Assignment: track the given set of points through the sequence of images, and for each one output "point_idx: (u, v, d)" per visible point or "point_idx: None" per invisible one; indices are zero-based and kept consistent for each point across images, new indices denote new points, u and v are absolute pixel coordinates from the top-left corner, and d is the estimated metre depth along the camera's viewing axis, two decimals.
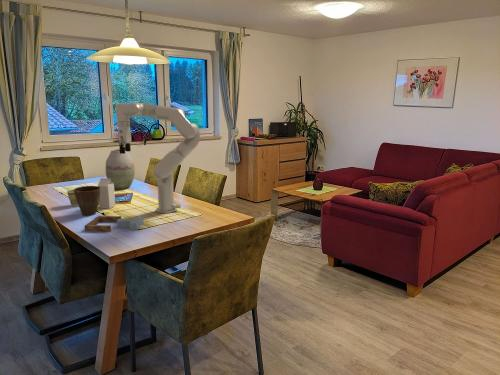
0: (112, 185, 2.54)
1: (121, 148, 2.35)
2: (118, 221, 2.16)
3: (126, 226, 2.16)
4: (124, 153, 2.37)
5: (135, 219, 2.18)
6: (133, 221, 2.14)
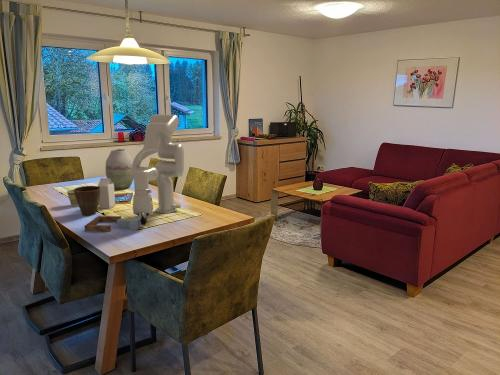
0: (112, 185, 2.54)
1: (146, 219, 2.17)
2: (118, 221, 2.16)
3: (126, 226, 2.16)
4: (145, 223, 2.19)
5: (135, 219, 2.18)
6: (133, 221, 2.14)
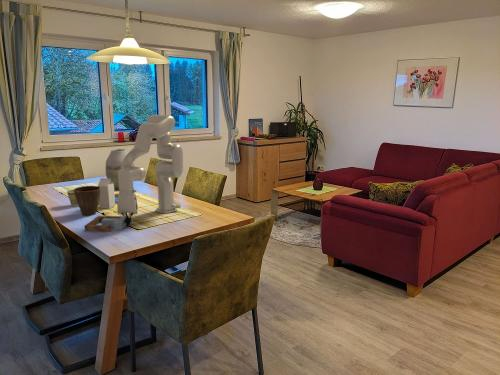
0: (112, 185, 2.54)
1: (130, 218, 2.17)
2: (103, 221, 2.16)
3: (111, 226, 2.16)
4: (130, 223, 2.19)
5: (120, 219, 2.18)
6: (118, 221, 2.15)
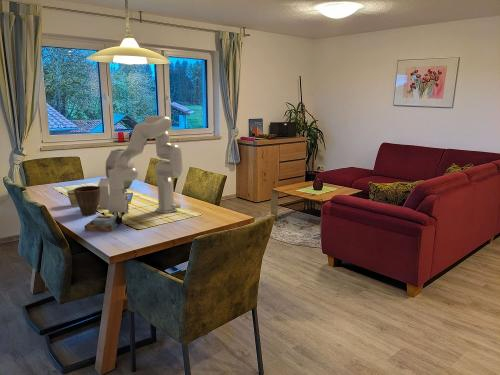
0: None
1: (121, 218, 2.17)
2: (94, 221, 2.16)
3: None
4: None
5: (111, 219, 2.18)
6: (108, 221, 2.15)
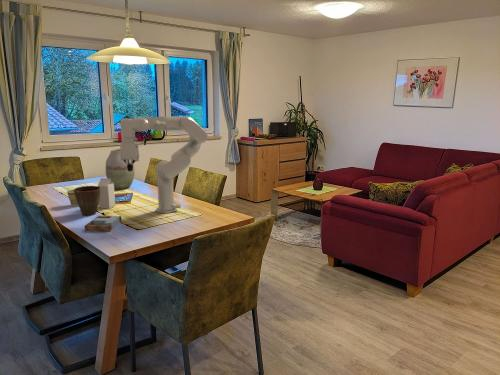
0: (112, 185, 2.54)
1: (132, 165, 2.33)
2: (94, 221, 2.16)
3: None
4: (132, 170, 2.35)
5: (111, 219, 2.18)
6: (108, 221, 2.15)
